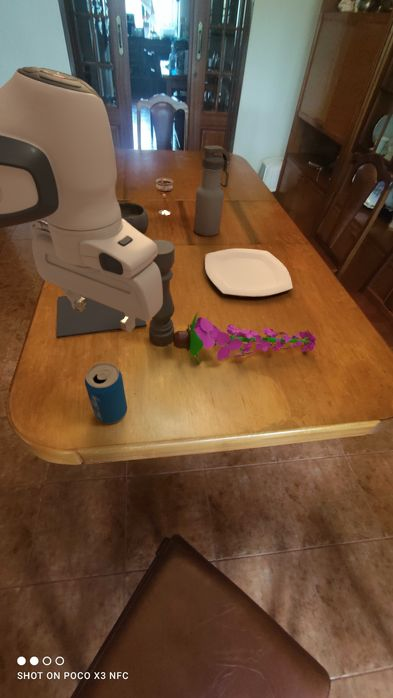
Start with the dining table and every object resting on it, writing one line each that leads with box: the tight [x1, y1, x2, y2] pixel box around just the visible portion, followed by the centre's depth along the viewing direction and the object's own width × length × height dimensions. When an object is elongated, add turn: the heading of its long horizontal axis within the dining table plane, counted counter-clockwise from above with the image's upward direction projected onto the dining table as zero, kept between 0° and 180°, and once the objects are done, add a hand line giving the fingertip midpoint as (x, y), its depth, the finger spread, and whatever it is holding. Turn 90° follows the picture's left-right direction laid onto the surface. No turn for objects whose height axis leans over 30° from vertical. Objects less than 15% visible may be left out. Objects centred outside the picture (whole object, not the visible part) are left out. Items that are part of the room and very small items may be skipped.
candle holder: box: [148, 239, 176, 348], centre depth 71 cm, size 6×6×25 cm
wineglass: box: [155, 177, 174, 216], centre depth 126 cm, size 7×7×12 cm
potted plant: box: [172, 311, 317, 365], centre depth 76 cm, size 12×16×35 cm
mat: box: [55, 295, 148, 339], centre depth 85 cm, size 22×16×1 cm
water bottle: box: [193, 145, 231, 237], centre depth 111 cm, size 10×10×28 cm
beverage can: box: [84, 362, 128, 425], centre depth 60 cm, size 6×6×12 cm
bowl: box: [118, 201, 150, 235], centre depth 110 cm, size 15×15×10 cm
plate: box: [204, 247, 294, 298], centre depth 101 cm, size 27×27×2 cm
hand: (103, 318), depth 51 cm, fingers open, 8 cm apart
